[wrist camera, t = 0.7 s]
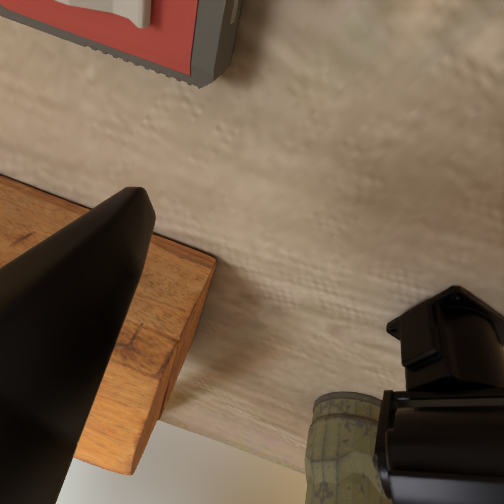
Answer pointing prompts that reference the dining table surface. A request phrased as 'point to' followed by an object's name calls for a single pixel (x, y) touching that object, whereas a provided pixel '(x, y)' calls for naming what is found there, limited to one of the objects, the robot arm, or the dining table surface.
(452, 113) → the dining table surface
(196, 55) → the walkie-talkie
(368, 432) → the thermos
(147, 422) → the wooden box
